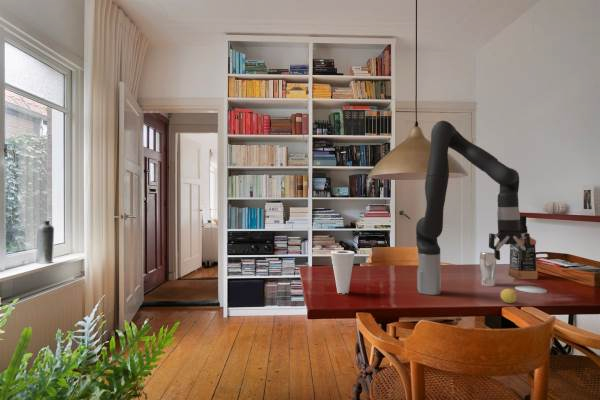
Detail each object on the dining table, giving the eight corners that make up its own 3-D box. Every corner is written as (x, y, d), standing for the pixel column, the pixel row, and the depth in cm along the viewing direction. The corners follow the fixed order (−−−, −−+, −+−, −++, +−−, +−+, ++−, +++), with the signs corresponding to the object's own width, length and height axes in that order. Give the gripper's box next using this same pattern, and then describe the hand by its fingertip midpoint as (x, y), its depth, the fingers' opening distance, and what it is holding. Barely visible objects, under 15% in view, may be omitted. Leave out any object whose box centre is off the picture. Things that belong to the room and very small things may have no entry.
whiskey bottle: (507, 275, 185) (506, 215, 185) (526, 274, 185) (525, 215, 185) (519, 279, 175) (518, 216, 175) (538, 279, 174) (538, 216, 174)
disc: (523, 292, 150) (523, 292, 150) (510, 286, 162) (510, 285, 162) (553, 293, 148) (553, 293, 148) (537, 286, 160) (537, 286, 160)
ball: (504, 304, 133) (504, 290, 133) (498, 300, 139) (498, 287, 139) (519, 305, 133) (519, 290, 133) (512, 301, 138) (512, 287, 138)
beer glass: (479, 285, 164) (479, 253, 164) (479, 282, 170) (479, 251, 170) (496, 287, 160) (496, 254, 160) (496, 283, 166) (495, 252, 166)
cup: (336, 296, 147) (335, 254, 147) (327, 290, 157) (327, 251, 157) (359, 294, 149) (358, 253, 149) (349, 288, 160) (348, 249, 160)
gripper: (523, 217, 138) (525, 258, 138) (485, 218, 140) (486, 258, 140) (533, 218, 130) (534, 261, 130) (492, 219, 133) (493, 261, 133)
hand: (509, 259), depth 135 cm, fingers open, 8 cm apart
